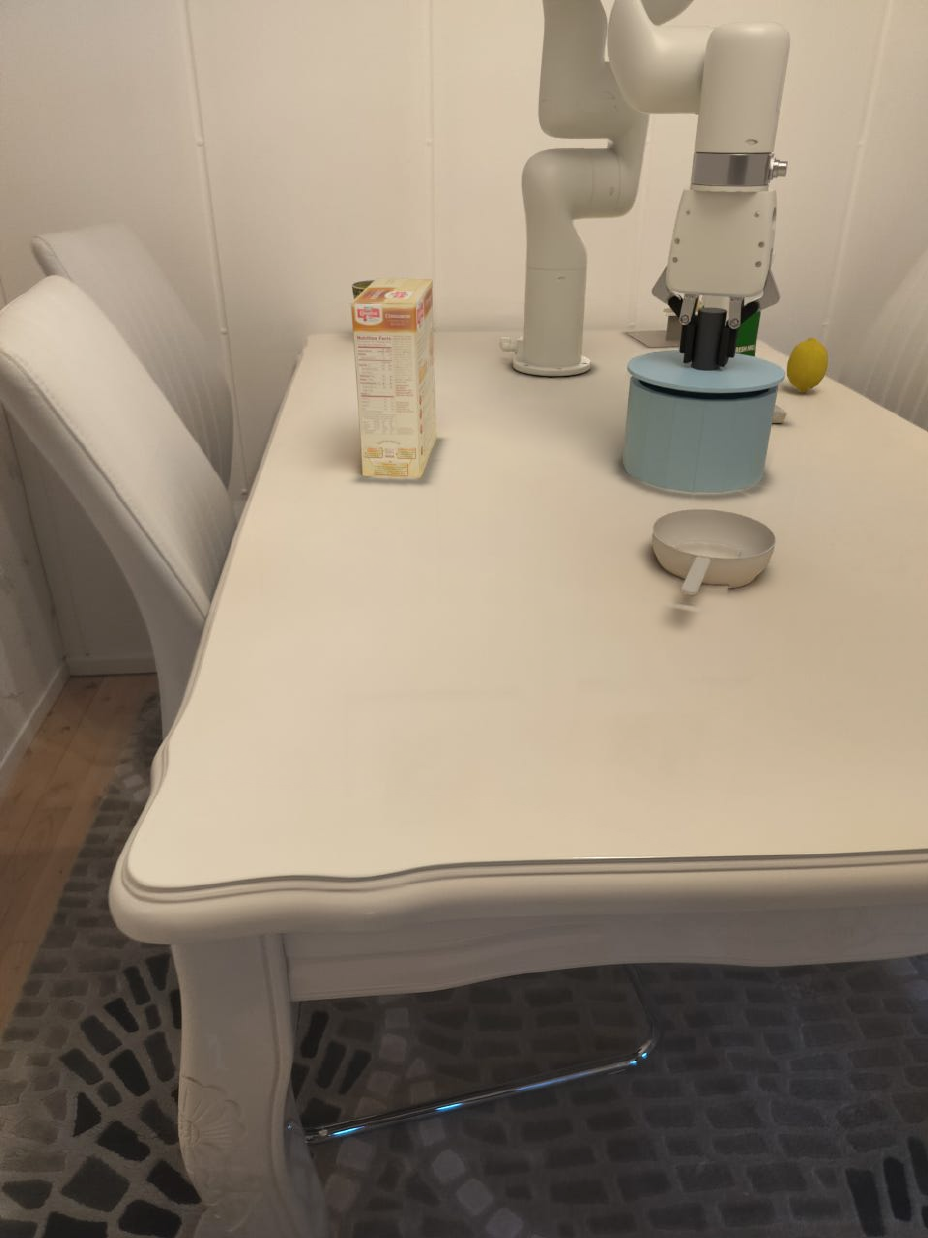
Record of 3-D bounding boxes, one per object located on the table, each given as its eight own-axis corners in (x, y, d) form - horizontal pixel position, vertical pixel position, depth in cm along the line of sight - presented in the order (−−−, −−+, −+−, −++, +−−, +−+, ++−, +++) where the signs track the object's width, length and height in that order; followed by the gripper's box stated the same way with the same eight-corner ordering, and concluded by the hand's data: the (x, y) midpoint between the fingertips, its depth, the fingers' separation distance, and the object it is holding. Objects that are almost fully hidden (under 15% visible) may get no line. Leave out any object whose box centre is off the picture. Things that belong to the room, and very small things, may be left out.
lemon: (824, 398, 129) (835, 342, 125) (784, 396, 130) (794, 340, 126) (819, 388, 133) (829, 334, 129) (780, 386, 134) (790, 332, 130)
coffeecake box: (383, 438, 113) (375, 276, 104) (438, 440, 113) (435, 277, 103) (359, 480, 100) (347, 300, 91) (421, 482, 100) (416, 301, 90)
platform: (627, 333, 167) (630, 296, 164) (717, 329, 170) (721, 293, 167) (649, 347, 157) (653, 308, 154) (744, 343, 160) (750, 305, 156)
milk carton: (723, 381, 137) (743, 242, 127) (681, 369, 144) (697, 235, 134) (762, 373, 141) (784, 237, 131) (719, 362, 148) (737, 231, 138)
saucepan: (775, 553, 84) (782, 515, 82) (751, 645, 69) (759, 602, 67) (661, 535, 87) (666, 499, 85) (616, 619, 73) (620, 577, 71)
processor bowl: (608, 485, 99) (616, 391, 94) (640, 443, 111) (648, 358, 106) (752, 505, 94) (768, 408, 88) (768, 459, 106) (784, 371, 101)
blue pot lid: (609, 388, 93) (615, 318, 90) (645, 353, 107) (651, 291, 103) (774, 406, 88) (787, 332, 84) (790, 367, 101) (802, 301, 97)
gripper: (821, 172, 87) (787, 361, 97) (656, 169, 93) (639, 348, 102) (815, 177, 81) (780, 378, 91) (639, 173, 87) (623, 363, 96)
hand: (705, 360), depth 96 cm, fingers closed on blue pot lid, 3 cm apart
